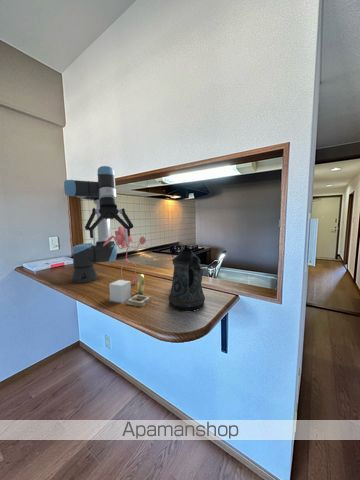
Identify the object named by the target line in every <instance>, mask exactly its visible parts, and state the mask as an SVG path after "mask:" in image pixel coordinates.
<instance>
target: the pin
mask: <svg viewBox="0 0 360 480" xmlns="http://www.w3.org/2000/svg"><path fill="white" fill-rule="evenodd" d="M136 275H137V281H136V285H137V290H136V291H137V294H138V295H144V294H145V274H143V273H138V274H136Z"/></svg>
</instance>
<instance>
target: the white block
mask: <svg viewBox="0 0 360 480" xmlns="http://www.w3.org/2000/svg"><path fill="white" fill-rule="evenodd" d="M131 282H132V281H130V280H125V279H124V280H122V279H118V280H115V281H113V282H111V283H109V284H108V285H109V286H108V289H109V299H110V300H111V301H116V302H124V301H125V300H127V299H129V298H130V297H131V296H132V283H131Z"/></svg>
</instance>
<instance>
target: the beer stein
mask: <svg viewBox="0 0 360 480" xmlns="http://www.w3.org/2000/svg"><path fill="white" fill-rule="evenodd" d="M175 256H176V257H175V258H173V259H172V265H173V273H172V281H171V289H170V292H169V294H168V297H167V298H168V303H169V307H170V308H172V309H173V310H175V311H177V310H178V312H182V311H191V312H195V311H194V310H196V311H198V310H197V309H199V310H200V308H201V307H202V308H203V307H204V305H205V301H206V296H205V294H204V291H203V287H202V282H203V270H202V267H201V265H200V264H201V259H200V257H198V256H197V254H195V253H194V252H193V250H192V249H181V252H180V253H179V254H177V255H175ZM202 308H201V309H202Z"/></svg>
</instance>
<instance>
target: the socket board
mask: <svg viewBox="0 0 360 480" xmlns="http://www.w3.org/2000/svg"><path fill="white" fill-rule="evenodd" d="M132 296H133V295H132ZM150 301H152V296H151V295H150V296H149V295H144V294H138V293H137V294H135V295H134V296H133V297H132V298H130V299H128V300H127V301H126V305H130V306H135V307H143V306H145V305H146V304H147V303H149V302H150Z"/></svg>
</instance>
